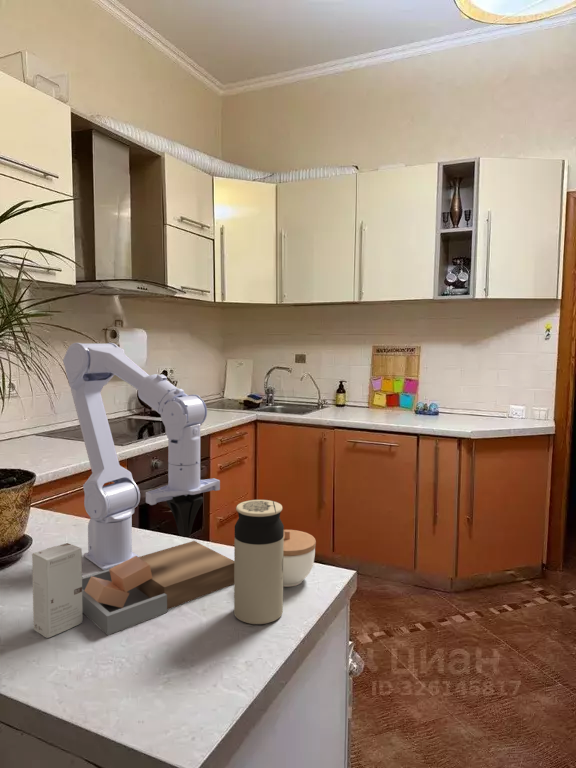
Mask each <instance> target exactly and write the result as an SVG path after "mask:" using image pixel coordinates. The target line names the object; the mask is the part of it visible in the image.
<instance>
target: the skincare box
mask: <svg viewBox="0 0 576 768" xmlns="http://www.w3.org/2000/svg"><path fill="white" fill-rule="evenodd" d="M82 554H83V553H82V548H81V547H79V546H76V545H74V544H72V543H69V542H66V543H63V544H60V545H55V546H51V547H48V548H45V549H42V550H39V551H36V552H33V553H32V554H31V557H32V558H31V562H32V566H31V568H32V570H31V571H32V610H33V611H32V613H33V614H32V615H33V616H32V617H33V623H32V625H33V630H34V631H35V632H37V633H38V634H39V635H41V636H43V637H45V638H46V639H49V638H51V637H54V636H56V635H58V634H61V633H63V632H65V631H68V630H70V629H72V628H74V627H76V626H78V625H81V624H82V623H83V622H84V621H83V619H84V617H83V616H84V613H83V612H82V611H83V610H82V577H83V565H82V563H83V558H82V557H83V555H82Z"/></svg>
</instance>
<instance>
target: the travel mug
mask: <svg viewBox="0 0 576 768" xmlns="http://www.w3.org/2000/svg"><path fill="white" fill-rule="evenodd" d="M235 509H236V512H237V515H238V519H237V520H236V523H235V524H234V550H233V551H234V559H233V561H234V584H233V585H234V588H233V589H234V590H233V591H234V592H233V594H234V596H233V598H234V599H233V603H234V604H233V606H234V607H233V611H234V612H233V614H234V616H235V617H236V618H237V620H239V621H241V622H244V623H247V624H251V625H265V624H270V623H271V622H275V621H277V620H278V619H280V617H282V615H283V611H284V609H283V607H284V606H283V605H284V603H283V602H284V601H283V600H284V587H283V546H284V530H285V529H284V527H285V525H284V523H283V521H282V520H281V512H282V511H283V505H282V504H281V503H279V502H277V501H274V500H270V499H269V500H268V499H251V500H246V501H242V502H240V503H238V504H237V505H236V507H235Z"/></svg>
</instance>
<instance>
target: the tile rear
mask: <svg viewBox="0 0 576 768" xmlns="http://www.w3.org/2000/svg"><path fill="white" fill-rule="evenodd" d="M109 571H110V575H111V579H112V583H114V584H115V585H116V586H118V587H119V588H120V589H122V590H123V591H124V592H127V591H129V590H131V589H133V588H135V587H137V586H139V585H140V584H142V583H144V582H146V581H148V580H150V579H151V578H152V574H151V569H150V565H149V564H148V563H146V562H144V561H143V560H141V559H140V558H138V557H137V556H135V557H133V558H131V559H129V560H127V561H125V562H123V563H121V564H119V565H117V566H115V567H113V568H109Z"/></svg>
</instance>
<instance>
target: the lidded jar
mask: <svg viewBox="0 0 576 768" xmlns="http://www.w3.org/2000/svg"><path fill="white" fill-rule="evenodd" d="M316 544H317V541H316V538H315V537H314V536H313V535H312V534H310V533H308V532H306V531H302V530H296V529H284V546H283V588H287V587H288V588H290V587H296V586H299V585H300V584H302V583H303V581H304V580H305V579H306V578H307V577H308V576H309V575H310V573H311V571H312V569H313V566H314V563H315V558H316V557H315V556H316Z"/></svg>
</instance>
